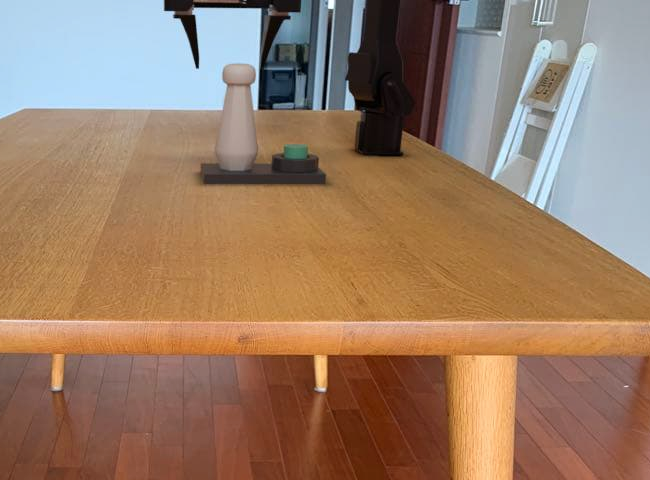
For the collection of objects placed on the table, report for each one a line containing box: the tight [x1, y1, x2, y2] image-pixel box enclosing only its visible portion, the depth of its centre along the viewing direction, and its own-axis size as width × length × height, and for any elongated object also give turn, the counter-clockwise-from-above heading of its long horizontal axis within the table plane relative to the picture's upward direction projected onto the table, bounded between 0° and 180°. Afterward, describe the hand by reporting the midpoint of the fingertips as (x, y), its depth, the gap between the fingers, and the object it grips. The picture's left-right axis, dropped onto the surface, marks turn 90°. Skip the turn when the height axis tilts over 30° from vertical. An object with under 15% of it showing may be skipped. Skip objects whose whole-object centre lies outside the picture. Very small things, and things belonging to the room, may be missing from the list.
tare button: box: [283, 143, 309, 159], centre depth 108 cm, size 3×3×2 cm
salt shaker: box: [214, 62, 259, 171], centre depth 106 cm, size 6×6×13 cm
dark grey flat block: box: [200, 152, 327, 185], centre depth 109 cm, size 16×8×3 cm, turn 93°
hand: (229, 68), depth 116 cm, fingers open, 9 cm apart
